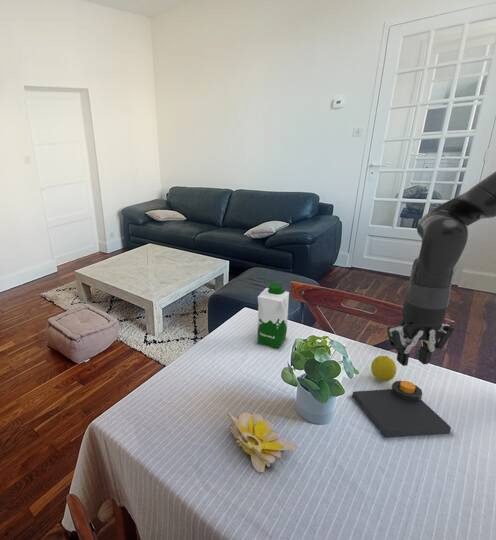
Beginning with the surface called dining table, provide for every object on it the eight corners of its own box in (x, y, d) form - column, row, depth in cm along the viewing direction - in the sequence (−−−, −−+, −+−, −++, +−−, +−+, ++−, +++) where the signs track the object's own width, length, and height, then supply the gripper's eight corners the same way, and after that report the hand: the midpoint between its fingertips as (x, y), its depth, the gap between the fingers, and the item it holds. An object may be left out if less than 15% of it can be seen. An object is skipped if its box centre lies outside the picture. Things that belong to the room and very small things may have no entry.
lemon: (398, 387, 90) (403, 362, 87) (375, 387, 91) (379, 362, 88) (387, 374, 95) (391, 350, 93) (365, 373, 96) (369, 350, 94)
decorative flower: (308, 467, 70) (299, 431, 67) (260, 490, 69) (248, 455, 66) (269, 418, 84) (259, 387, 81) (228, 437, 83) (217, 406, 80)
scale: (408, 390, 89) (410, 379, 88) (453, 433, 76) (457, 421, 74) (350, 394, 90) (351, 384, 88) (385, 437, 77) (387, 425, 75)
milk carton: (288, 338, 116) (292, 285, 109) (280, 351, 110) (282, 296, 103) (263, 331, 122) (265, 281, 115) (253, 343, 116) (254, 291, 109)
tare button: (408, 385, 86) (409, 380, 86) (417, 393, 84) (418, 388, 83) (396, 386, 87) (397, 381, 86) (405, 394, 84) (406, 389, 83)
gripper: (405, 310, 73) (392, 375, 79) (474, 305, 72) (456, 370, 78) (382, 296, 80) (372, 356, 86) (444, 290, 79) (430, 352, 85)
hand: (412, 362), depth 82 cm, fingers open, 4 cm apart
